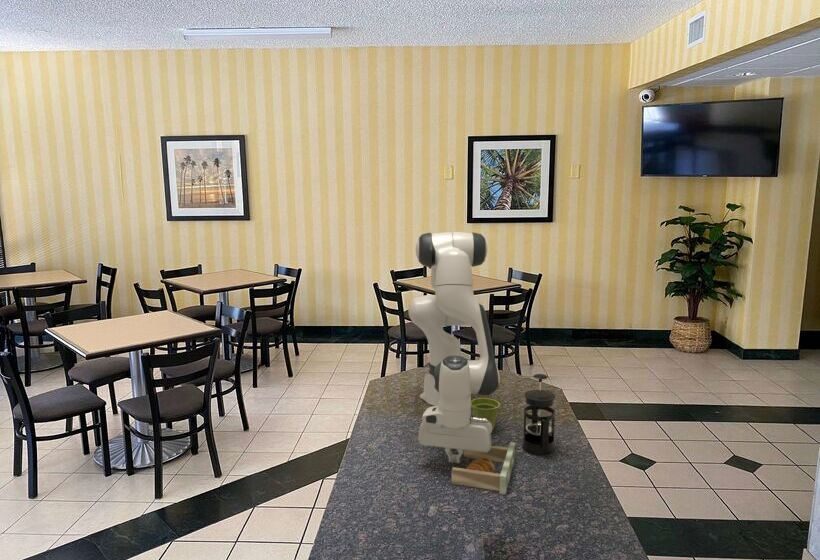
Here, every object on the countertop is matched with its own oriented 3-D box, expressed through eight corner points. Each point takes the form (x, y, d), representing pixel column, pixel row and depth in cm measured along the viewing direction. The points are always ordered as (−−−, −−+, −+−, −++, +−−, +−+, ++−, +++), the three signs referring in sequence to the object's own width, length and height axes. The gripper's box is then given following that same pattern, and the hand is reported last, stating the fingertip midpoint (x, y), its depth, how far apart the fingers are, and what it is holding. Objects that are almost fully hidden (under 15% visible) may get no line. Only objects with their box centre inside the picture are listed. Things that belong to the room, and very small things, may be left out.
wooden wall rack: (465, 452, 176) (465, 436, 175) (515, 458, 172) (515, 442, 171) (450, 486, 157) (450, 469, 156) (505, 494, 153) (505, 476, 152)
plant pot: (493, 421, 198) (493, 396, 196) (503, 433, 188) (504, 407, 187) (466, 424, 196) (466, 399, 194) (475, 436, 187) (475, 410, 185)
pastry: (477, 486, 158) (477, 472, 157) (457, 477, 162) (457, 464, 161) (497, 472, 165) (497, 459, 164) (477, 465, 169) (477, 452, 168)
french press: (517, 441, 183) (519, 369, 179) (547, 439, 184) (550, 368, 179) (529, 459, 171) (531, 383, 167) (560, 457, 172) (563, 382, 168)
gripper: (494, 414, 164) (493, 461, 167) (422, 407, 170) (422, 452, 172) (490, 424, 158) (489, 472, 161) (416, 416, 164) (416, 462, 166)
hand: (454, 461), depth 167 cm, fingers closed
